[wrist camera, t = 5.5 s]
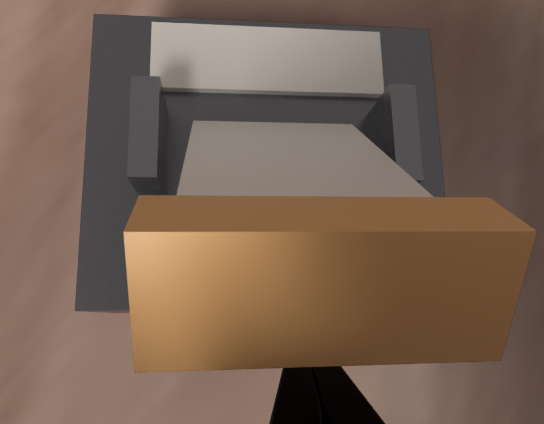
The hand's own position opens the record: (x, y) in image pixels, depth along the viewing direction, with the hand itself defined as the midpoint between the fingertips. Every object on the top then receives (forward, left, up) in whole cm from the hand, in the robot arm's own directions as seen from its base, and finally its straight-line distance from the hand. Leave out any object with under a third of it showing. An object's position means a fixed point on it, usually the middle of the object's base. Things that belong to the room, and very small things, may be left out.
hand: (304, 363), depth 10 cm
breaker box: (+4, -4, -11) cm, 13 cm away
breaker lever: (+4, -4, -4) cm, 8 cm away
